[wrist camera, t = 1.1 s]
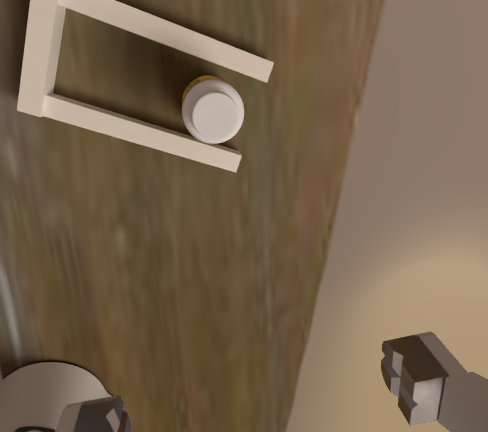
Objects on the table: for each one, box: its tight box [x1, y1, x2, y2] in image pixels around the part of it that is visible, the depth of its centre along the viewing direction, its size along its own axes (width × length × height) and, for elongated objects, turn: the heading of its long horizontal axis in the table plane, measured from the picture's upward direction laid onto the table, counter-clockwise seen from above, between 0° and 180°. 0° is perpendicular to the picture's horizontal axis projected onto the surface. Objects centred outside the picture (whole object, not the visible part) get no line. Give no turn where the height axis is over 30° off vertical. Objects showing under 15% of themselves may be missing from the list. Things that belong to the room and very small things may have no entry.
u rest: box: [17, 0, 274, 172], centre depth 36 cm, size 12×22×3 cm, turn 70°
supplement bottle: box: [182, 76, 244, 144], centre depth 35 cm, size 6×6×10 cm
